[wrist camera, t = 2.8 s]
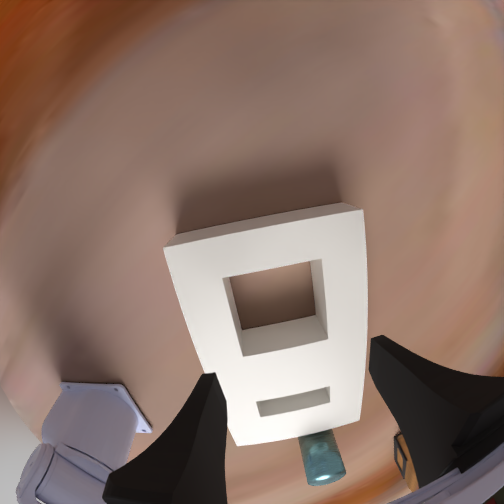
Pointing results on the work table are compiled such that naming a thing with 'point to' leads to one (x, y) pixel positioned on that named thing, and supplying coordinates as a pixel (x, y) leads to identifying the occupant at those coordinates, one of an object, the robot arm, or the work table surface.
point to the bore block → (285, 333)
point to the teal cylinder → (321, 458)
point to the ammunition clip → (405, 462)
